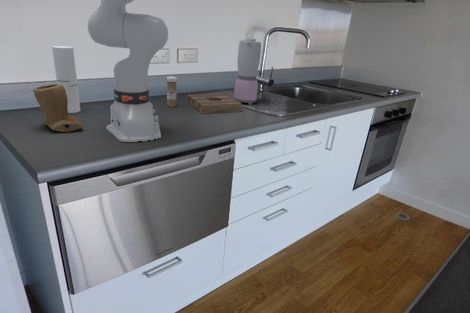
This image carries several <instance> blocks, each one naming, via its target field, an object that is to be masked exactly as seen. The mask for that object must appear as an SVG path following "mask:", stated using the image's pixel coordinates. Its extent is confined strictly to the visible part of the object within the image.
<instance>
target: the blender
mask: <svg viewBox="0 0 470 313" xmlns="http://www.w3.org/2000/svg"><path fill="white" fill-rule="evenodd" d="M256 40H257V39H256V38H251V37H250V38H249V37H245V39H244V40H242V39H241V40H239V44H238V49H237V50H238V51H237V78H236V79H235V82H234V90H233V99H234V100H236V101H238V102H240V103H248V104H247V105H248V106H253V103H256V102H257V97H258V89H259V88H258V87H259V83H258V79H257V75H258V70H259V67H260V62H261V53H262V43H261V41H256Z"/></svg>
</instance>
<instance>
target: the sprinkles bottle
mask: <svg viewBox="0 0 470 313" xmlns="http://www.w3.org/2000/svg"><path fill="white" fill-rule="evenodd" d="M177 81H178V78H177V77H176V76H167V77H166V82H167V83H166V103H167V104H166V105H167V107H171V108H173V107H176V106H177Z"/></svg>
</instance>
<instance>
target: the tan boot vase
mask: <svg viewBox="0 0 470 313" xmlns="http://www.w3.org/2000/svg"><path fill="white" fill-rule="evenodd" d="M33 94H34V98H35V100H36V102H37V103H38V105H39V106H40V108H41V110H42V111H43V112H44V114H45V116H46V119H45V120H44V122H45V125H47V126H48V127H49V128H50V129H51V130H52V131H56V132H60V133H61V132H63V133H69V132H74V131H77V130H79V129H82V128H83V127H84V125H83V124H82V123H81V121H79V120H78V119H77V118H76V117H74V116H73V115H69V113H68V108H67V105H68V99H67V95H66V91H65V88H64V86H63V85H62V84H57V83H50V84H44V85H39V86H36V87H34V88H33Z"/></svg>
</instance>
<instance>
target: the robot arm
mask: <svg viewBox="0 0 470 313" xmlns="http://www.w3.org/2000/svg"><path fill="white" fill-rule="evenodd" d="M134 1H135V0H101V2H100V5H99V6H98V7H97V9H96V10H95V11H94V12H93V13H91V15H90V17H89V19H88V22H87V31H88V33H89V36H90V37H91V39H92V41H93V42H94V43H97V44H99V45H102V46H104V47H105V46H106V47H110V48H119V49H120V48H122V49H129V53H128V54H129V55H128V57H126V58H124V59H121V60H119V61H118V62H117V63H115V65H114V67H113V79H114V80H113V81H114V89H113V98H114V99H113V100H114V102H113V103H112V104H111V105H110V124H108V125H106V127H105V128H106V130H107V131H108V132H109V133H110V134H111V135H113V137H114V138H116V139H117V140H118V141H119V142H123V143H139V142H138V141H142V142H149V141H148V140H150V141H154V139H156V140H159V139H161V138H162V134H161V130H160V129H161V128H160V124H159V115H155V114H156V109H153V103H152V102H150V101H151V99H150V97H151V96H150V91H149V88H148V86H149V85H148V78H149V77H148V76H149V67H150V63H151V61H152V59H153V57H154V56H155V55H156V54H157V52H159V51H160V50H162V49H163V48H164V47H165V45H166V44H167V41H168V38H169V30H168V27H167V24H166V22H165V21H164V20H163V18H160V17H157V16H153V15H150V14H144V13H143V14H141V13H132V12H127V9H126V6H127V4H130V3H133V2H134ZM158 138H159V139H158Z"/></svg>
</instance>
